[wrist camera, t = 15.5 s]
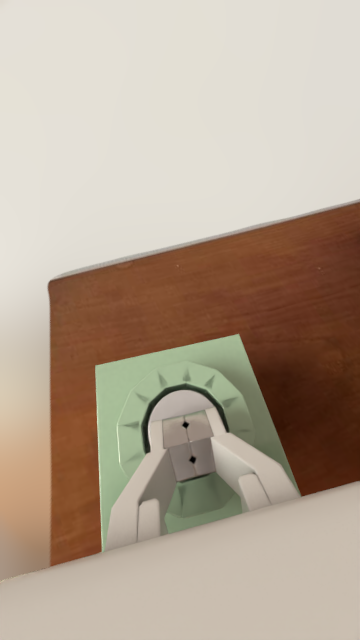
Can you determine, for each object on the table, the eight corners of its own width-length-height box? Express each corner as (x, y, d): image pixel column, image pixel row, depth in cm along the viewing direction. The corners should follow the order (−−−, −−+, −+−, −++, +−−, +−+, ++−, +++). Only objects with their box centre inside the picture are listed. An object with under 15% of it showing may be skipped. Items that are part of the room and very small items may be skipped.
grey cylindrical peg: (226, 458, 12) (233, 462, 10) (159, 475, 11) (153, 482, 10) (207, 389, 13) (210, 382, 11) (149, 403, 13) (142, 398, 11)
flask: (250, 477, 21) (338, 536, 9) (146, 505, 20) (79, 614, 8) (218, 375, 26) (247, 317, 13) (133, 394, 25) (79, 353, 12)
